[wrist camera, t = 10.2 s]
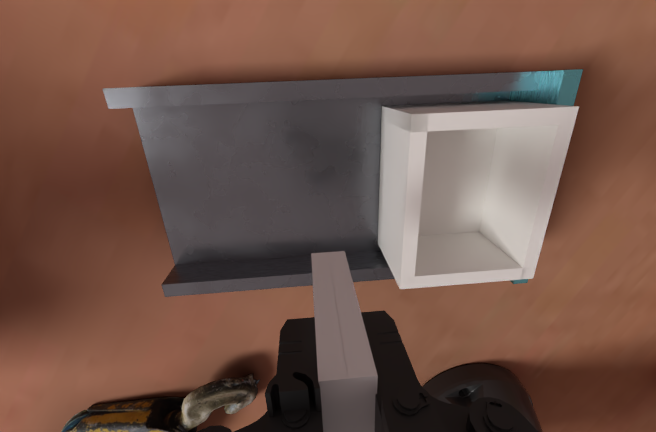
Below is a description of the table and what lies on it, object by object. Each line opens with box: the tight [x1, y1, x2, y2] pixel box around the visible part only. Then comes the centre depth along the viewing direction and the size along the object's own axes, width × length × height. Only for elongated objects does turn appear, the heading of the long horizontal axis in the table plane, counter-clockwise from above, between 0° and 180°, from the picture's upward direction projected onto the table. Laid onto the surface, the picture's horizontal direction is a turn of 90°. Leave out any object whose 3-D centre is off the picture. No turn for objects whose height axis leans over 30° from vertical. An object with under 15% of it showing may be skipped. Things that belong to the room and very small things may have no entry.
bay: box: [103, 69, 583, 297], centre depth 24 cm, size 30×16×6 cm, turn 92°
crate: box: [378, 101, 579, 289], centre depth 23 cm, size 10×12×7 cm
